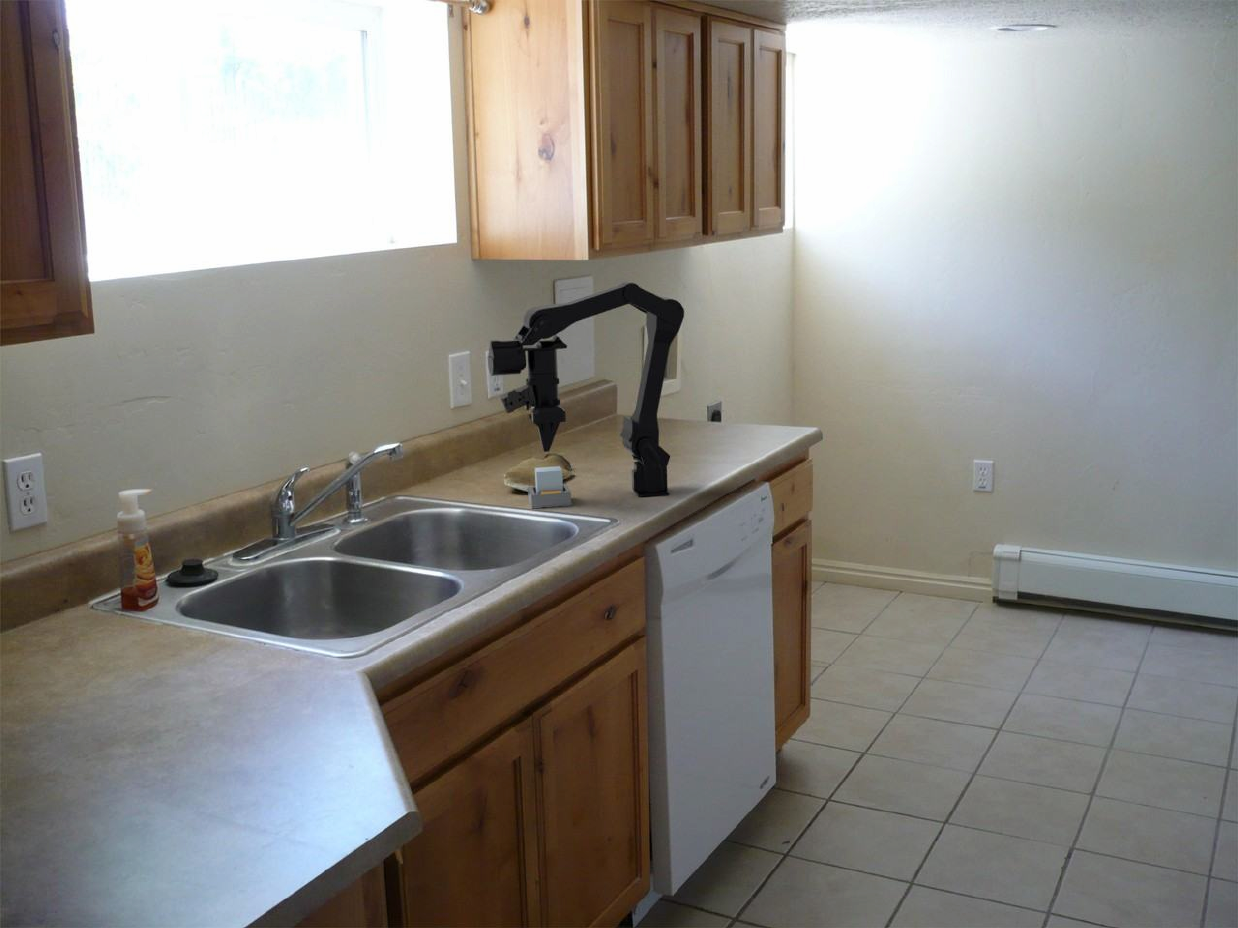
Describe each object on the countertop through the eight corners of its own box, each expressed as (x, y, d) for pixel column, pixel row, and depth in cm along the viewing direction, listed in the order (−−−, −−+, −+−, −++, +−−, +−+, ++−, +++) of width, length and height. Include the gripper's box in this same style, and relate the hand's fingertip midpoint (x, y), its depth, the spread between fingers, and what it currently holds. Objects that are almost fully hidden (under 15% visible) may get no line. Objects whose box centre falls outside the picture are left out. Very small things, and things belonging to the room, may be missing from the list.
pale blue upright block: (561, 495, 244) (559, 466, 243) (563, 500, 240) (561, 470, 239) (536, 497, 243) (534, 467, 242) (538, 502, 239) (536, 472, 238)
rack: (567, 497, 246) (566, 482, 245) (571, 505, 239) (570, 490, 238) (528, 500, 245) (527, 485, 244) (531, 508, 238) (531, 493, 237)
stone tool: (534, 465, 274) (493, 493, 251) (535, 448, 273) (494, 474, 250) (583, 473, 271) (546, 502, 248) (584, 456, 270) (547, 483, 247)
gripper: (498, 368, 244) (501, 444, 247) (504, 381, 226) (508, 463, 229) (553, 365, 246) (556, 441, 249) (564, 378, 228) (567, 460, 231)
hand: (546, 451), depth 240 cm, fingers closed
